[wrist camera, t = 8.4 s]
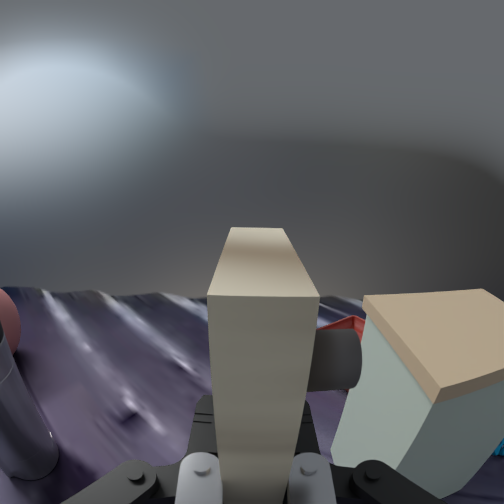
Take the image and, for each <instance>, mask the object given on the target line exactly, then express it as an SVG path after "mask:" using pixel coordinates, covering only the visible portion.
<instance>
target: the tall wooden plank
mask: <svg viewBox="0 0 504 504" xmlns="http://www.w3.org/2000/svg"><path fill="white" fill-rule="evenodd" d="M319 300H320V296H319V294H318V292H317V290H316V288H315V287H314V285H313V283H312V281H311V279H310V277H309V276H308V274H307V272H306V270H305V268H304V266H303V265H302V263H301V261H300V259H299V257H298V255H297V254H296V252H295V250H294V248H293V246H292V245H291V243H290V241H289V239H288V237H287V236H286V234H285V232H284V230H283V229H281V228H235V227H233V228H231V230H230V232H229V235H228V238H227V240H226V243H225V246H224V249H223V252H222V254H221V257H220V260H219V263H218V266H217V268H216V271H215V274H214V277H213V280H212V282H211V285H210V288H209V291H208V294H207V308H208V330H209V349H210V365H211V380H212V394H213V406H214V418H215V429H216V440H217V450H218V459H219V468H220V477H221V480H223V501H224V504H282V503H283V499H284V495H285V491H286V487H287V483H288V479H289V475H290V471H291V466H292V462H293V458H294V453H295V448H296V444H297V439H298V434H299V429H300V424H301V419H302V414H303V408H304V403H305V397H306V392H313V391H328V390H341V389H351V388H354V387H356V385H357V384H358V382H359V379H360V376H361V370H362V348H361V343H360V339H359V336H358V334H357V332H356V331H355V330H354V329H329V330H316V325H317V317H318V309H319Z"/></svg>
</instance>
